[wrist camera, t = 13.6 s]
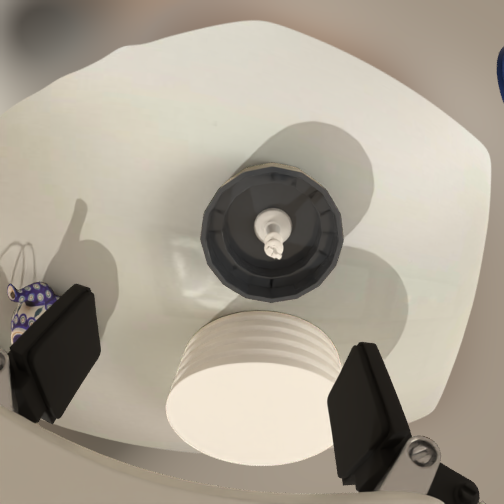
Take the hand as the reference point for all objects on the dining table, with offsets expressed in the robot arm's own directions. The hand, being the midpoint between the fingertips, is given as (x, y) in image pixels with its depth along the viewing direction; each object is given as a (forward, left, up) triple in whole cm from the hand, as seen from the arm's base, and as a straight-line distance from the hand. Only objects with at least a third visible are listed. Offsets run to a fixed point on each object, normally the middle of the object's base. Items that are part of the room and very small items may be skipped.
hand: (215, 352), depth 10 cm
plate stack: (+31, +7, -31) cm, 44 cm away
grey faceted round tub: (+4, +3, -30) cm, 31 cm away
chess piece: (+4, +3, -30) cm, 30 cm away
